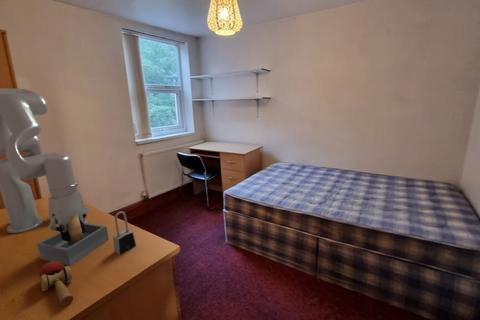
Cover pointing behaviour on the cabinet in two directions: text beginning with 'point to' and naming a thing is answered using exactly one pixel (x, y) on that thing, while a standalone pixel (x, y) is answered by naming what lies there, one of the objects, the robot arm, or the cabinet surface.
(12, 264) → the cabinet surface
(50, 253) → the peg box
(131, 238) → the padlock
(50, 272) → the kendama
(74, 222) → the peg
